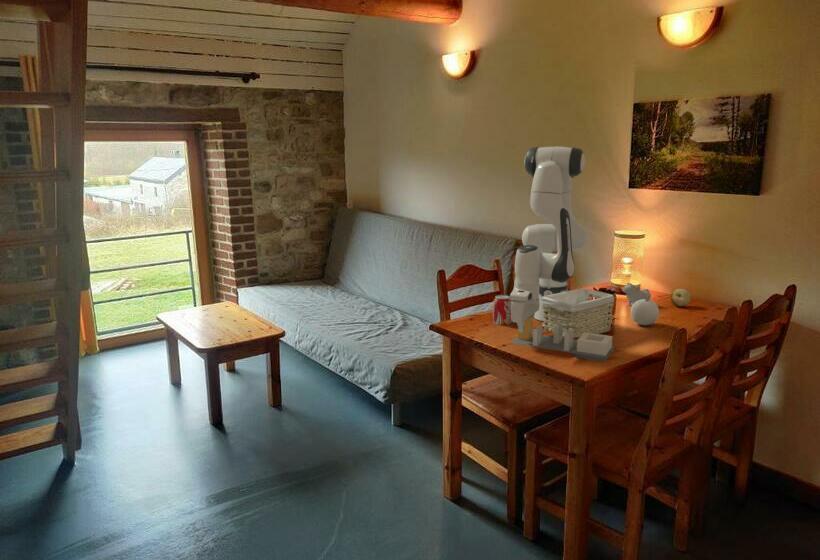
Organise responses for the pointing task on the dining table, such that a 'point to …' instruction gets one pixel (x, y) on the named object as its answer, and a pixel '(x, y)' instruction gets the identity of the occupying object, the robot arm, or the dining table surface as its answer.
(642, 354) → the dining table surface
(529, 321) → the plug
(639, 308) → the ornament
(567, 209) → the robot arm
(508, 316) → the soda can
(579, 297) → the storage basket
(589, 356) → the board
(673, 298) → the fruit
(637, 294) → the dog figurine
